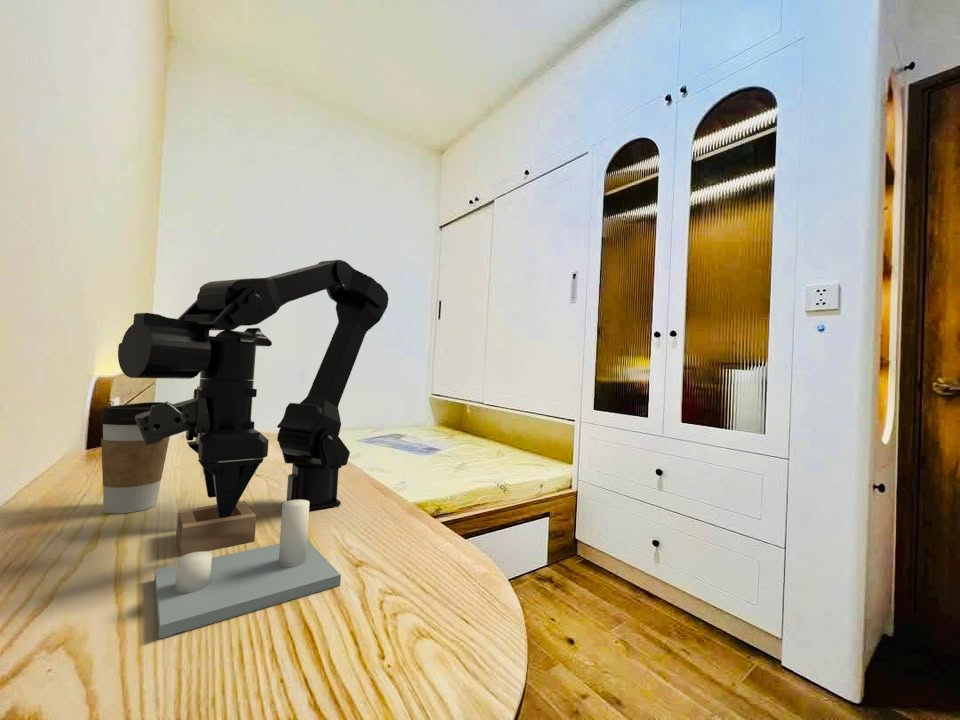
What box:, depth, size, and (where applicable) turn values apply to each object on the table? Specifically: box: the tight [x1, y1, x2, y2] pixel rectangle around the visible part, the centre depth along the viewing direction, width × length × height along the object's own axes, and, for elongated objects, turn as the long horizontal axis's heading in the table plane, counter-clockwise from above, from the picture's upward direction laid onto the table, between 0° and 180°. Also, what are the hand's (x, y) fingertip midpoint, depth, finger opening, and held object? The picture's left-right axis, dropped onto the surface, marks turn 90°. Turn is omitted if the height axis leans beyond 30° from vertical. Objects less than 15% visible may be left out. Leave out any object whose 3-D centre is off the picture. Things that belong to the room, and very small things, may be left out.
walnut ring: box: [175, 500, 257, 557], centre depth 50 cm, size 7×7×3 cm
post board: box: [154, 500, 342, 640], centre depth 40 cm, size 14×11×7 cm
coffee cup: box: [99, 401, 173, 515], centre depth 59 cm, size 8×8×15 cm
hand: (218, 506), depth 50 cm, fingers open, 9 cm apart
